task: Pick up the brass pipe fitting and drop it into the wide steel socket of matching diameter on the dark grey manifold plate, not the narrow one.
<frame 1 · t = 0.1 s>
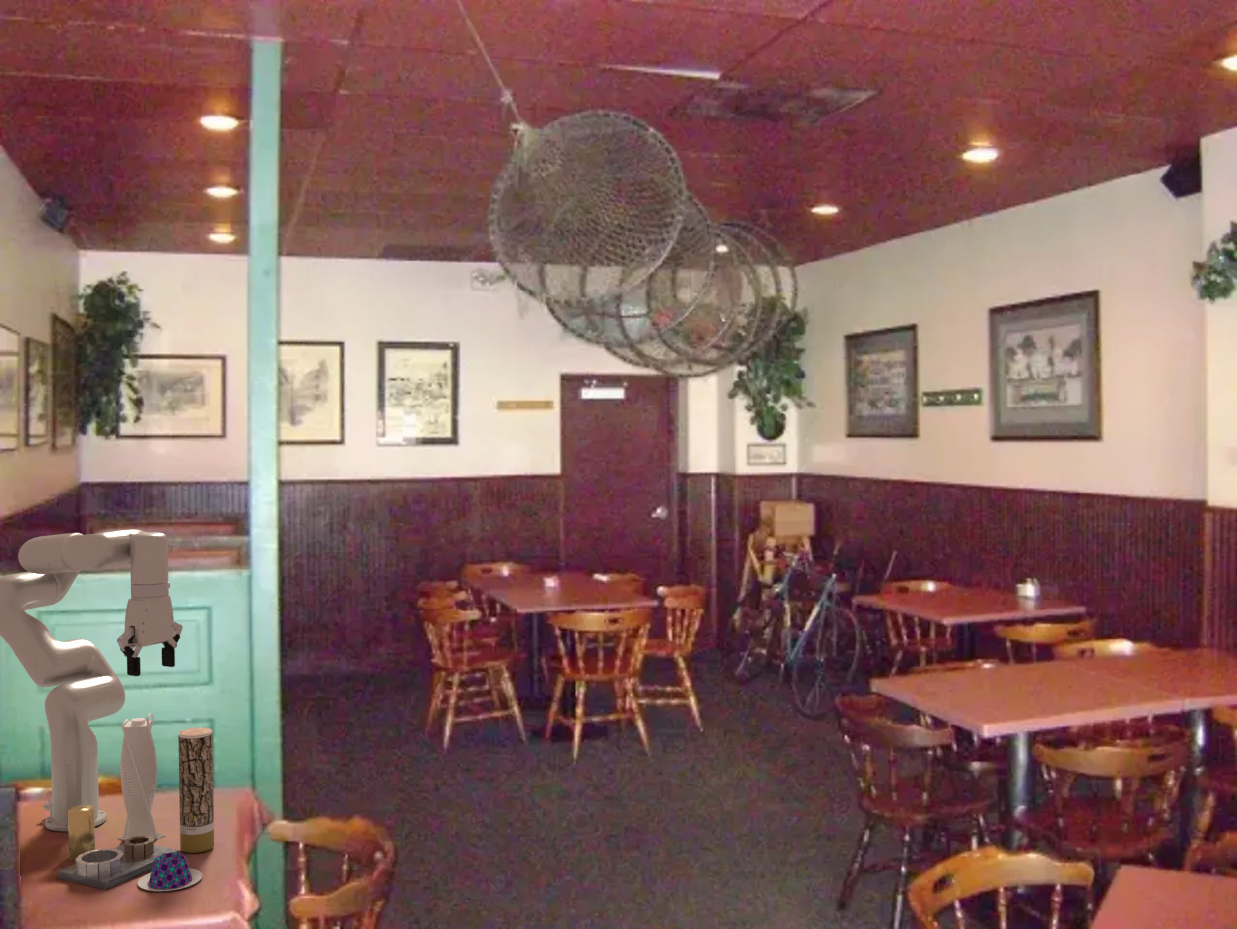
hand: (151, 670, 271), 37 cm above the table, tool pointing down, fingers open, 9 cm apart
fitting: (82, 856, 263), on the table
pudding: (170, 884, 250), on the table
paper tube: (197, 849, 268), on the table
skyscraper: (141, 841, 274), on the table
manifold: (120, 867, 257), on the table
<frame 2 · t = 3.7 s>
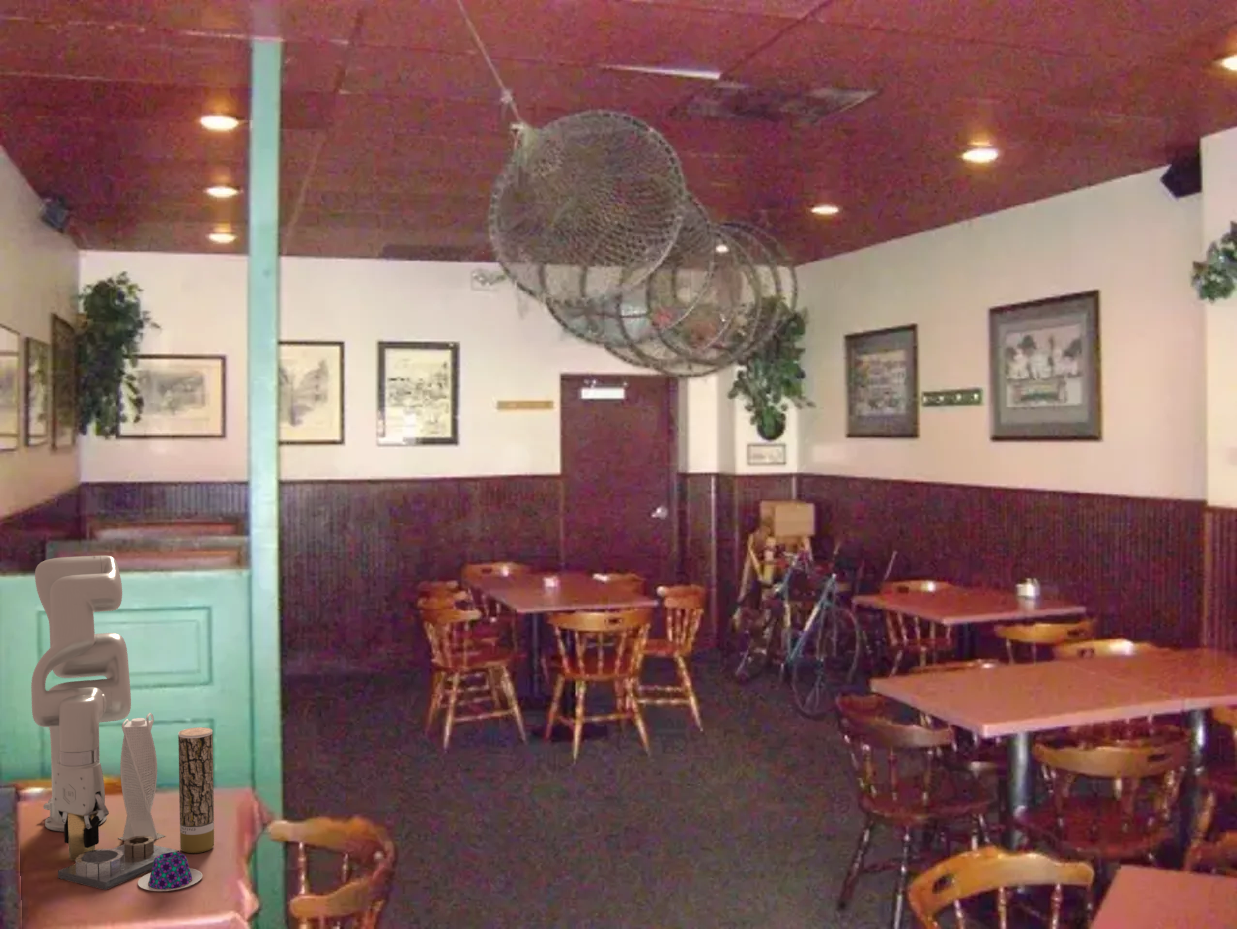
hand: (81, 842, 263), 3 cm above the table, tool pointing down, fingers closed on fitting, 5 cm apart
fitting: (82, 856, 263), on the table, touching gripper
everything else where it was.
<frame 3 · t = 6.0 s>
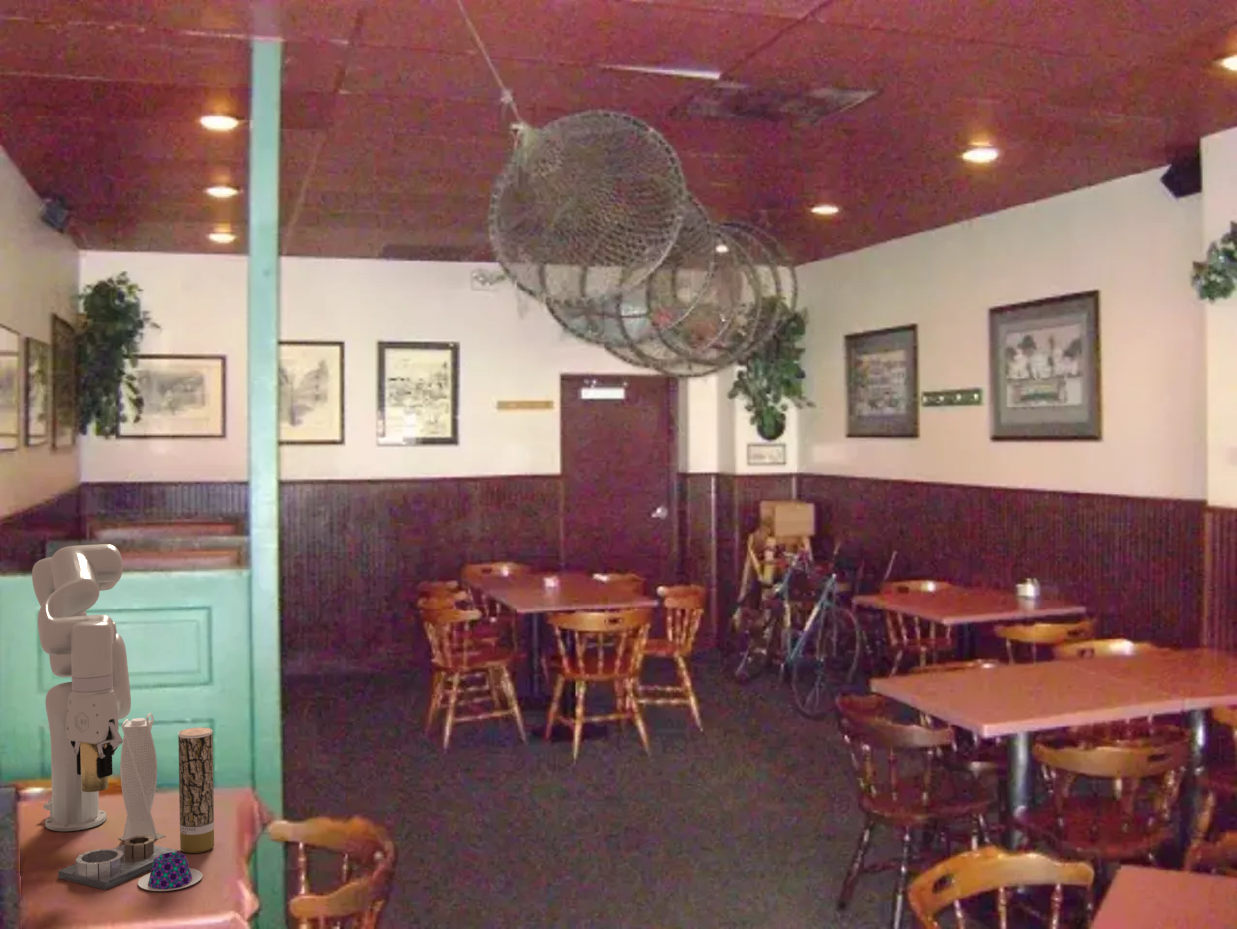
hand: (94, 773, 253), 20 cm above the table, tool pointing down, fingers closed on fitting, 5 cm apart
fitting: (94, 788, 253), point 17 cm above the table, touching gripper
everything else where it was.
when the fingers open (6 cm above the table, at t = 8.7 s): fitting drops 1 cm, resting on manifold.
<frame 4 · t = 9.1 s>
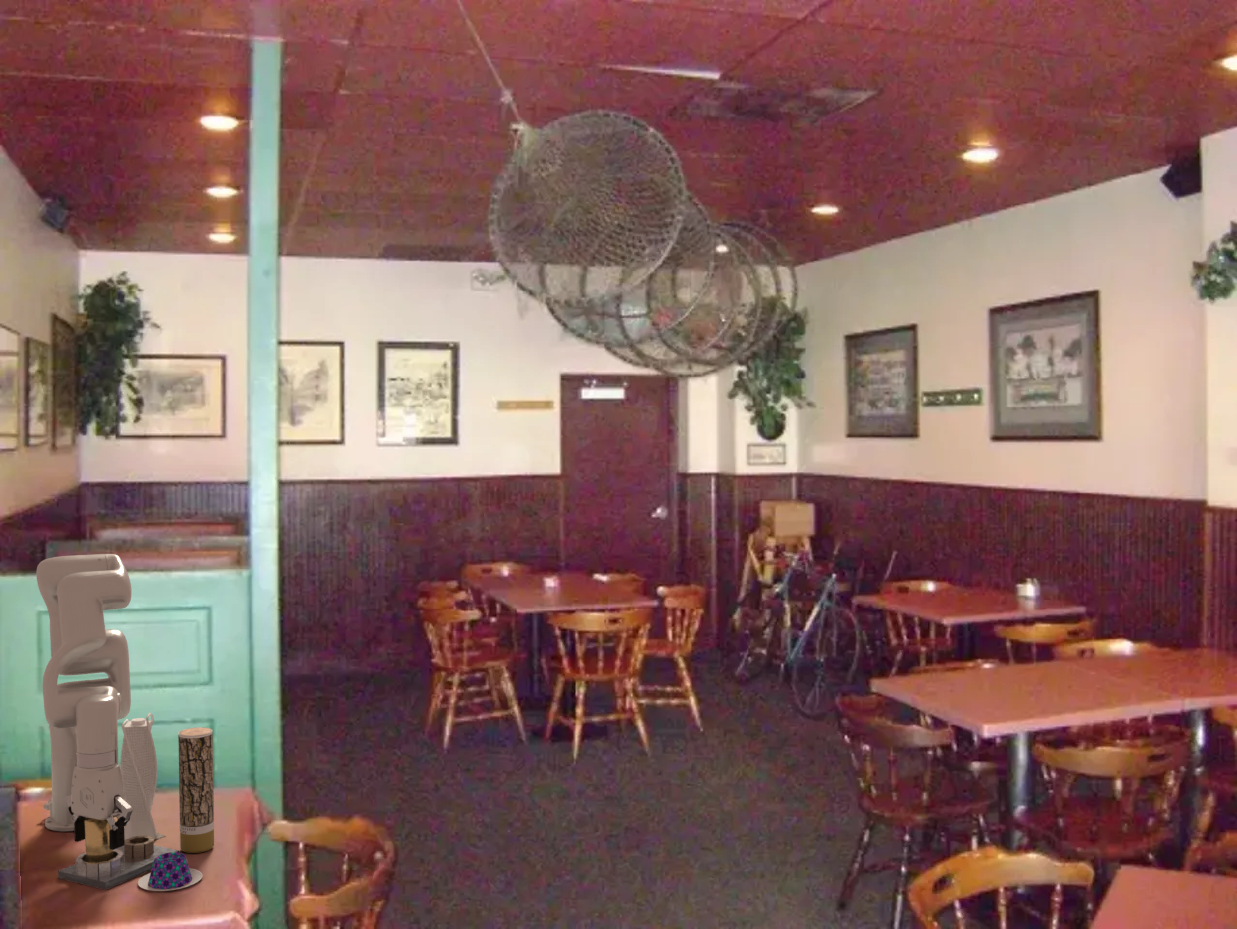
hand: (99, 843, 252), 7 cm above the table, tool pointing down, fingers open, 9 cm apart
fitting: (100, 868, 253), point 2 cm above the table, touching manifold
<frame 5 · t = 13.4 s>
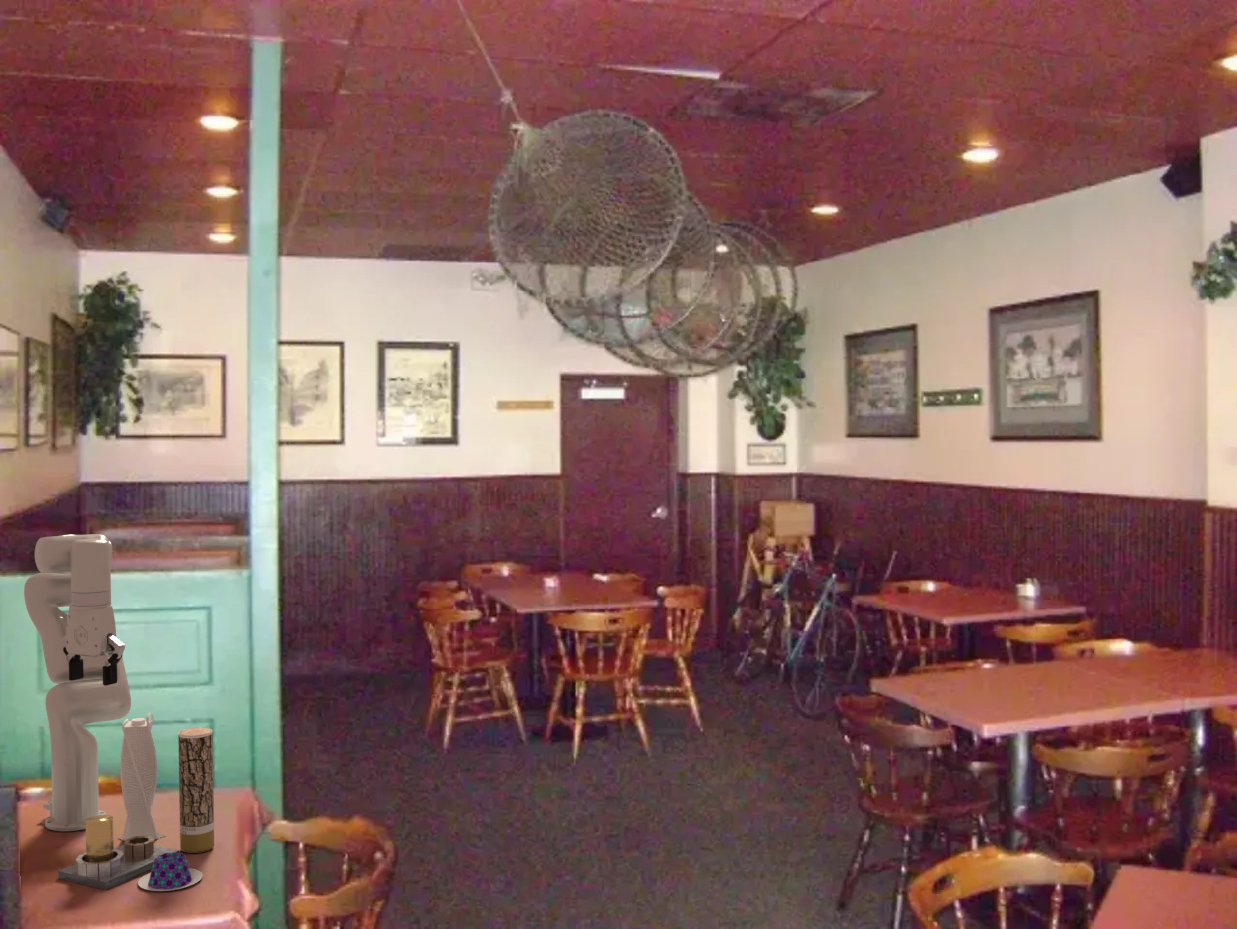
hand: (93, 681, 262), 36 cm above the table, tool pointing down, fingers open, 9 cm apart
at the end: fitting 0.0 cm from the target spot on the manifold, point 1.6 cm above the manifold's base; fitting tilted 2°; the gripper is holding nothing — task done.
